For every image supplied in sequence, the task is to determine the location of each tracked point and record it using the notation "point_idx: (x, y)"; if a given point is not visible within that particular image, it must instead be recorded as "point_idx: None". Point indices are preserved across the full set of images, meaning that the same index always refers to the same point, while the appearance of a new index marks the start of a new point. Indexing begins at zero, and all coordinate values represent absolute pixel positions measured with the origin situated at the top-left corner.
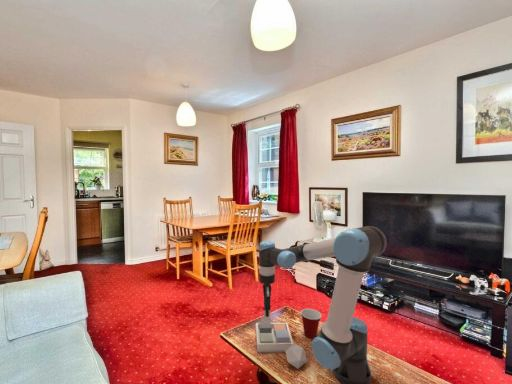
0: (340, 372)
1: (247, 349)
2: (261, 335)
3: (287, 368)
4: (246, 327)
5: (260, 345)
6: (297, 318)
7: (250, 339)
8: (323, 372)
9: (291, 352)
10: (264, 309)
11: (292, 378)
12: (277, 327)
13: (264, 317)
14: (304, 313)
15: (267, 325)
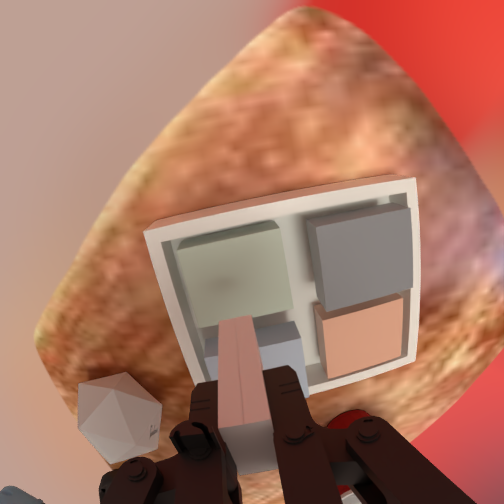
0: (106, 490)
1: (177, 154)
2: (250, 243)
3: (91, 364)
4: (411, 115)
5: (150, 248)
6: (471, 358)
7: (288, 152)
8: None
9: (78, 420)
10: (180, 444)
11: (52, 375)
12: (362, 328)
13: (218, 354)
14: None
15: (356, 278)
